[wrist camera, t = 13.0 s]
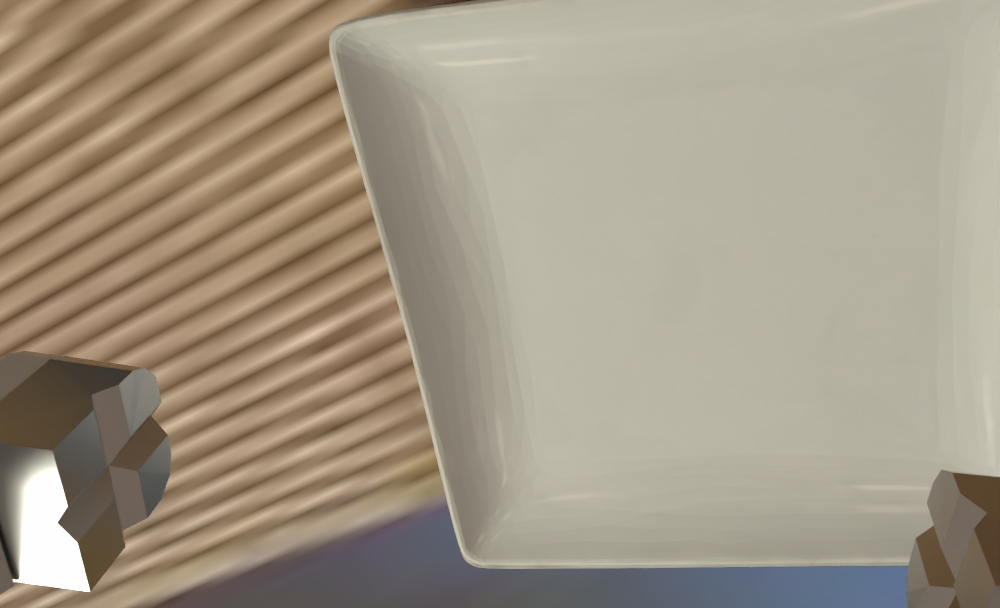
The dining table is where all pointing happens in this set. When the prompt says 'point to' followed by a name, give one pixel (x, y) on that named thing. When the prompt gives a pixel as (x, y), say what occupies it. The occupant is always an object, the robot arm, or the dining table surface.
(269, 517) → the dining table surface
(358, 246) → the dining table surface
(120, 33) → the dining table surface
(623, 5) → the square plate
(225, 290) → the dining table surface
